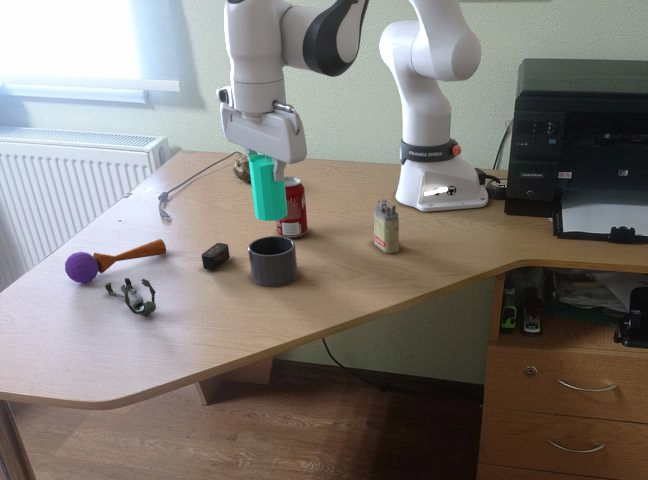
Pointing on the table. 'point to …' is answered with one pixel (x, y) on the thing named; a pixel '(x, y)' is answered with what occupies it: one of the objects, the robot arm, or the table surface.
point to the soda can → (293, 210)
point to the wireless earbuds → (215, 256)
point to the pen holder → (273, 261)
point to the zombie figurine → (135, 305)
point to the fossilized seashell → (242, 169)
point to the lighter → (386, 227)
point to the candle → (267, 190)
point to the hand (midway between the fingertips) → (267, 176)
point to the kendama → (106, 260)
